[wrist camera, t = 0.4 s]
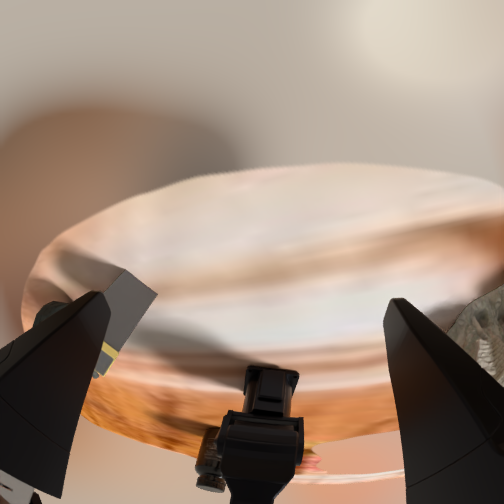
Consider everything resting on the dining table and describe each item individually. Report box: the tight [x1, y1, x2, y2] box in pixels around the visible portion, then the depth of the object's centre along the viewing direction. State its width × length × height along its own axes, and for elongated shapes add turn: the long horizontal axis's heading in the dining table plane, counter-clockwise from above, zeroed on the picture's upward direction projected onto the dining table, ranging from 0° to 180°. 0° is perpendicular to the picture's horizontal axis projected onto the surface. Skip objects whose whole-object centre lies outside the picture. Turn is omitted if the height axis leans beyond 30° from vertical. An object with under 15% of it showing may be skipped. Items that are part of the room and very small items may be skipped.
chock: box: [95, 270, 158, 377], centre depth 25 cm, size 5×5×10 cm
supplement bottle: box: [195, 428, 226, 493], centre depth 38 cm, size 7×7×12 cm
